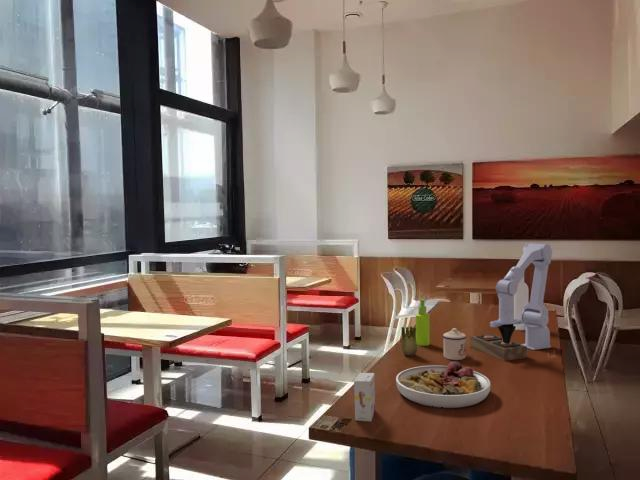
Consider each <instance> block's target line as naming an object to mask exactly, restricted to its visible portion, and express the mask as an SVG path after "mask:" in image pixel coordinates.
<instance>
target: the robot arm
mask: <svg viewBox="0 0 640 480" xmlns="http://www.w3.org/2000/svg"><path fill="white" fill-rule="evenodd" d="M552 255H553V249H552V247H551V246H550V244H549V243H532V242H531V243H530V242H528V243H526V244H525V245H524V247H523V248H522V256H521V257H520V259H519V260H518V262H517V264H516V266H512V267H511V268H510V269H509V271H508V272H507V273H506V275H504V277H503V279H499V281H497V283H496V285H495V291H496V293H497V298H498V319H496V320H492V321H490V322H489V327H491V328H496V327H497V329H498V330H499V332H500V334H501V338H503V343H506V344H508V343H510V341H511V338H512V335H513V333H514V331H516V330H515V328H516V326H513V325H514V324H523V323H524V326H526V330H525V342H524V343H522V345H524V346H527V349H529V350H532V351H533V350H534V351H536V350H542V349H550V348H552V345H551V333H550V328H549V327H548V326H547V325H548V324H549V321H550V318H549V309H548V308H547V307H546V306H545V305H544V299H545V298H544V297H545V292H546V284H547V278H548V271H549V265H550V264H551V262H552ZM531 264H533V265H534V271H533V278H532V285H531V292H530V296H529V297H530V298H529V302H528V304H527V305H525V306H524V309H523V312H522V314H521V319H520V318H519V319H514V294H515V293H516V292H517V289H518V285H519V284H518V283H519V282H520V281H521V279H522V278H523V276H524V277H525V271H526V269H527V268H528V267H529V266H530V265H531ZM523 271H524V272H523Z"/></svg>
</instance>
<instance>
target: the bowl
mask: <svg viewBox="0 0 640 480" xmlns="http://www.w3.org/2000/svg"><path fill="white" fill-rule="evenodd" d="M491 383H492V382H491V380H490V379H489V378H488V377H487V376H486V375H484V374H482V373H480V372H478V371H475V370H473V369H472V367H470V366H465V367H464V366H462V364H461V363H460V362H459V360H452V361H451V362H449V363H448V364H447V365H421V366H415V367H410V368H407V369H405V370H402V371H400V372H399V373H398V374H397V375H396V377H395V385H396V387H397V389H398V391H399V392H400V394H401V395H402V396H403V397H405V398H406V399H408V400H409V401H412V402H414V403H417V404H420V405H423V406H427V407H432V406H433V408H441V407H443V409H444V408H445V409H455V408H456V409H457V408H465V407H470V406H473V405H474V406H475V405H476V404H479V403H480V402H482V401H483V400H485V399H486V398H487V397H488V396H489V393H490V391H491V386H492V385H491Z"/></svg>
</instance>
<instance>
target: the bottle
mask: <svg viewBox="0 0 640 480" xmlns="http://www.w3.org/2000/svg"><path fill="white" fill-rule="evenodd" d="M523 272H524V273H525V270H524V271H523ZM518 284H519V285H518V289H517V292H516V293H515V294H514V319H519V318H520V319H521V314H522V312H523V309H524V306H525V305H527V304H528V303H529V299H530V298H529V297H530V296H529V291H530V290H529V286H528V284H527V283H526V282H525V275H524V276H523V278H522V279H521V281H520V282H519V283H518ZM513 326H516V328H515V330H514V331H526V326H524V323H523V324H514V325H513Z"/></svg>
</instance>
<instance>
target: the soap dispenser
mask: <svg viewBox="0 0 640 480" xmlns="http://www.w3.org/2000/svg"><path fill="white" fill-rule="evenodd" d="M425 300H426V298H420V299H419V302H420V305H419V306H418V313H416V314H415V328H416V343H417V346H421V347H423V346H425V347H426V346H429V345H430V344H431V343H430V342H431V341H430V338H431V337H430V314H429V313H427V306H426V305H425Z"/></svg>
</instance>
